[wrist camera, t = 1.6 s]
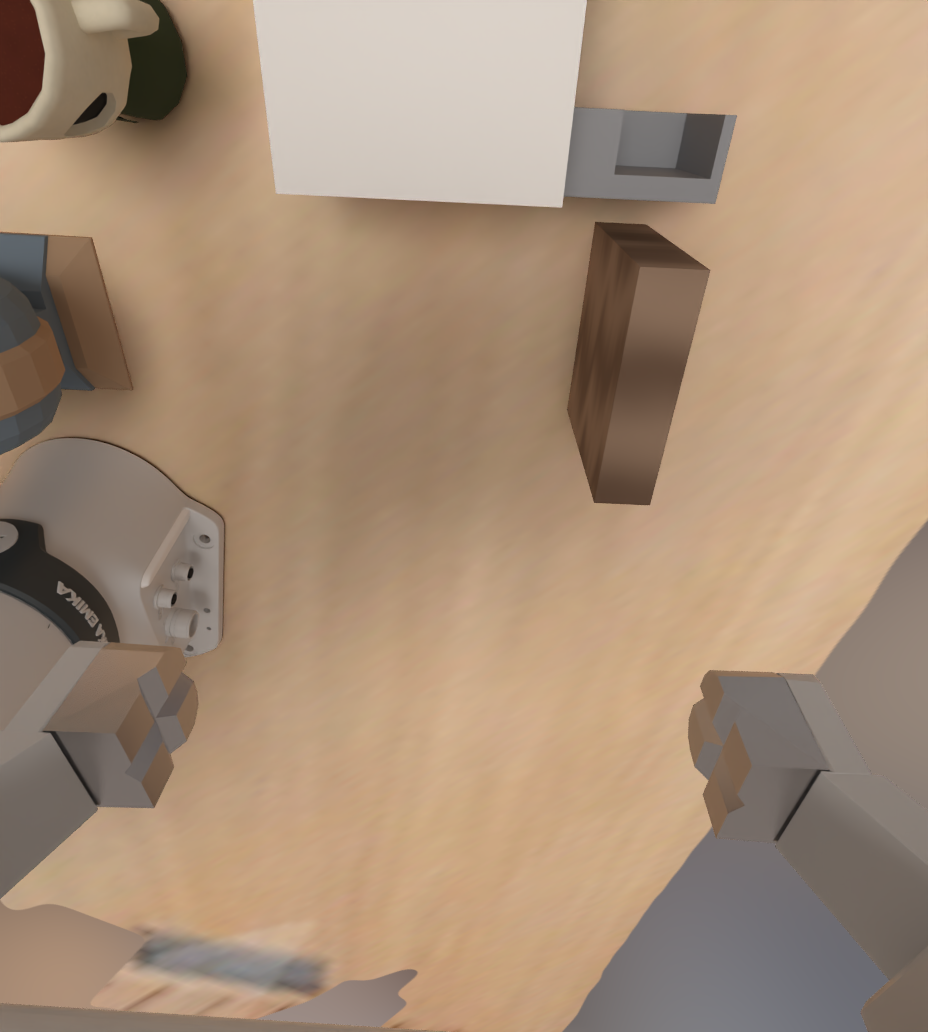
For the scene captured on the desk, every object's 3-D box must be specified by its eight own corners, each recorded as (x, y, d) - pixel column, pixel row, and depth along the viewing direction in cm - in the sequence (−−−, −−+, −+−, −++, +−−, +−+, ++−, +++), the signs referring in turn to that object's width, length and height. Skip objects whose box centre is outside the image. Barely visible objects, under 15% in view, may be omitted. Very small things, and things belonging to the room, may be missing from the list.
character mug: (63, 143, 34) (-130, 160, 23) (-5, -25, 30) (-276, -99, 19) (251, 119, 33) (142, 125, 22) (207, -57, 29) (48, -153, 18)
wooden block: (623, 412, 42) (668, 505, 32) (567, 409, 42) (594, 502, 32) (662, 225, 36) (733, 271, 26) (595, 222, 36) (640, 266, 26)
